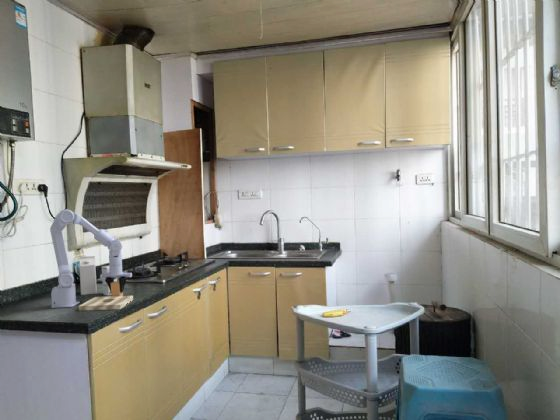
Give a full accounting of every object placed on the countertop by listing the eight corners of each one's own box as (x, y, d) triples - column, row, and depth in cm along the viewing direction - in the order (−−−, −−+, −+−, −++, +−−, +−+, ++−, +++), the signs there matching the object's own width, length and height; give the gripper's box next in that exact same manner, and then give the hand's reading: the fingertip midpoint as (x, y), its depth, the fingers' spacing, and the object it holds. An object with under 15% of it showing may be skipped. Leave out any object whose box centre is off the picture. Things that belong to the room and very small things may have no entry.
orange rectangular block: (111, 299, 197) (110, 283, 197) (114, 297, 201) (114, 281, 201) (119, 299, 197) (119, 282, 197) (123, 297, 201) (122, 281, 201)
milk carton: (81, 292, 215) (79, 256, 214) (96, 290, 217) (94, 255, 217) (81, 295, 208) (79, 258, 207) (96, 293, 211) (94, 256, 210)
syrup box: (108, 296, 205) (107, 267, 204) (102, 294, 209) (101, 266, 208) (119, 293, 209) (117, 265, 209) (113, 292, 213) (112, 264, 212)
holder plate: (78, 310, 179) (78, 306, 179) (95, 301, 195) (94, 297, 195) (120, 309, 179) (120, 304, 179) (133, 299, 195) (132, 295, 195)
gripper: (133, 262, 202) (134, 289, 203) (104, 263, 202) (105, 291, 203) (128, 265, 195) (129, 293, 196) (97, 266, 195) (99, 294, 196)
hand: (117, 292), depth 199 cm, fingers closed on orange rectangular block, 4 cm apart
